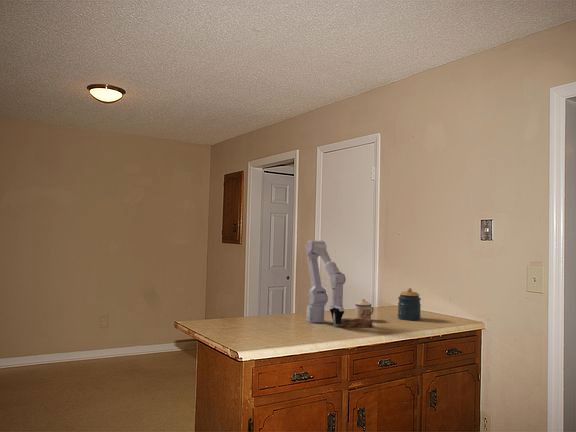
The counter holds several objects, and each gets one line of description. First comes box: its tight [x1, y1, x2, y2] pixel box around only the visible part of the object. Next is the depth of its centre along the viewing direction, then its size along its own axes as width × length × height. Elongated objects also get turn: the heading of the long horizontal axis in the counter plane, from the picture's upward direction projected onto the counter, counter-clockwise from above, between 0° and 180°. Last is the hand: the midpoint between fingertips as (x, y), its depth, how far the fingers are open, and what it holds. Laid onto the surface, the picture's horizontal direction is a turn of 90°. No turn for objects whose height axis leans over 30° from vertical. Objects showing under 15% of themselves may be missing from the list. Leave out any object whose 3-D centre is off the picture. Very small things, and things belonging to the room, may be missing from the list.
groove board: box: [340, 317, 373, 329], centre depth 256 cm, size 16×12×2 cm
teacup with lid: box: [354, 298, 375, 321], centre depth 274 cm, size 12×9×12 cm
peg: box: [332, 315, 341, 328], centre depth 251 cm, size 3×3×7 cm
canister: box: [397, 287, 422, 321], centre depth 282 cm, size 13×13×18 cm
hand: (336, 323), depth 251 cm, fingers closed on peg, 3 cm apart
